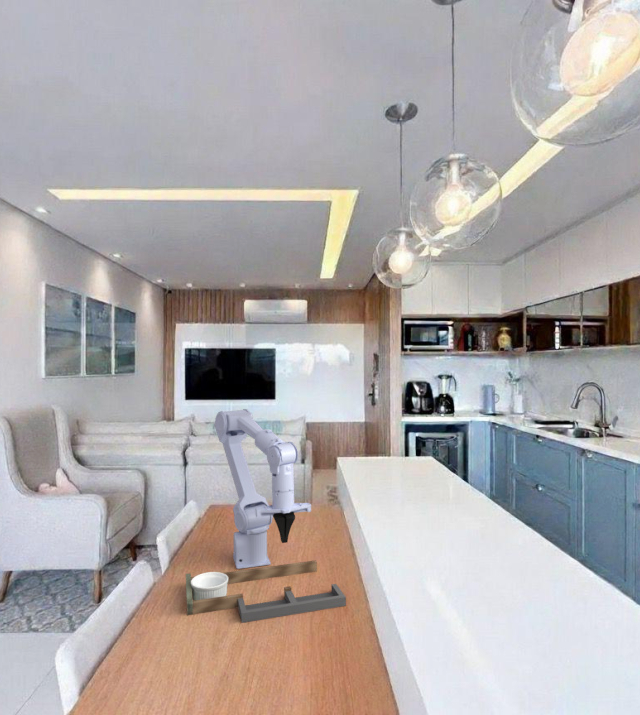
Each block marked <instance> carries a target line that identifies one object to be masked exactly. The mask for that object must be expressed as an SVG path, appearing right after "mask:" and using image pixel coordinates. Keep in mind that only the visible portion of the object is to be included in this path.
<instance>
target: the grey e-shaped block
mask: <svg viewBox="0 0 640 715" xmlns="http://www.w3.org/2000/svg"><path fill="white" fill-rule="evenodd" d="M345 606H347V597H346V595H345V594H344V592H343V591H342V590H341V588H340V587H339V585H338V584H337V583H332V584H331V591H329V592H323V593H316V594H309V595H303V596H298V597H297V596H295V595H294V593H293V591H292V590H291V591H285V598H283V599H279V600H278V599H277V600H272V601H266V602H265V601H264V602H258V603H251V604H245V600H244V597H243V598H239V599H238V607H237V610H238V614H239V617H240V621H241V623H242V624H243V623H249V622H255V621H256V622H257V621H261V620H268V619H274V618H280V617H286V616H291V615H297V614H298V615H299V614H303V613H304V614H305V613H310V612H316V611H321V610H328V609H334V608H340V607H345Z"/></svg>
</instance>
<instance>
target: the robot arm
mask: <svg viewBox="0 0 640 715" xmlns="http://www.w3.org/2000/svg"><path fill="white" fill-rule="evenodd" d="M214 420H215V421H214V428H215V432H216V435H217V438H218V440H219V443H221V444H222V447H223V450H224V453H225V457H226V460H227V463H228V467H229V469H230V473H231V476H232V480H233V483H234V486H235V490H236V493H237V497H238V500H237V502H236V503H235V504H234V506H233V508H232V511H233V517H234V518H233V519H234V520H233V523H234V526H235V528H236V529H237V531H236V532H233V554H232V557H233V561H234V564H235V568H236V569H237V570H239V569H240V570H242V569H246V568H249V569H250V568H257V567H264V566H271V565H272V563H271V560H270V558H269V556H268V533H267V531H268V530H269V529H270V526H271V524H272V522H273V519H274V521H275V524H276V526H277V529H278V532H279V537H280V538H279V539H280V542H281V543H282V544H284V543H288V541H289V536H290V531H291V528H292V526H293V523H294V522H295V520H296V515H295V514H296V513H305V512H306V513H311V512H312V504H311V503H310V502H295V481H294V480H295V478H294V477H295V474H294V473H295V471H294V470H295V469H294V464H295V463H296V462H297V461H298V458H299V451H298V448H297V446H296V445H295V444H294V443H293V442H292V441H284V440H283V439H282V438H281V437H279V436H277V435H276V434H275V433H274V432H273V430H272V429H270V428H269V429H268V428H267V429H266V428H265V429H263V428H262V427H261V426H260V425H259V424H258V423H257V422H256V421H255V420H254V417H253V413H252V412H251V411H250V410H248V409H246V408H243V409H240V410H227V411H222V410H221V411H220V410H219V411H218V412H217V413H216V416H215V419H214ZM248 436H249V437H251V438H252V439H253V440H254V445H255V447H256V448H258V449H259V450H260V451H261V452H262V453H263V454H264V455H265V456H266V460H267V462H268V465H269V472H270V473H271V490H272V491H271V494H272V495H271V497H272V498H271V499H272V500H271V501H272V504H270V505H269V503H268V502H267V501H268V500H267V498H266V497H265V496H263V495H262V494H259V493H258V492H257V491H256V490H257V489H256V486H255V484H254V480H253V477H252V474H251V470H250V468H249V466H248V461H247V458H246V455H245V453H244V449H243V446H242V442H243V441H244V440H245V439H247V437H248Z"/></svg>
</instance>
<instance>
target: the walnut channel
mask: <svg viewBox="0 0 640 715" xmlns="http://www.w3.org/2000/svg"><path fill="white" fill-rule="evenodd" d="M317 566H318V564H317V560H314V559H313V560H309V561H308V560H307V561H301V562H300V561H299V562H294V563H287V564H285V563H284V564H279V565H278V564H277V565H272V566H271V565H269V566H265V567H264V566H261V567H254V568H249V569H240V570H233V571H226V572H223V573H224V574H226V575H227V576H228V583H227V585H229V584H236V583H244V582H250V581H252V582H253V581H258V580H265V579H272V578H273V579H274V578H279V577H280V578H281V577H285V576H293V575H300V574H306V573H314V572H318V567H317ZM194 577H195V576H192V575H191V573H189V572H188V573H185V594H186V596H185V597H186V598H187V599H186V598H185V599H186V616H192V615H198V614H204V613H212V612H216V611H217V612H218V611H223V610H224V611H225V610H230V609H238V599H239V598H243V599H244V595H243V593H237V594H230V595H226V596H222V597H215V598H208V599H202V600H195V601H194V600H193V594H192V586H191V580H192V579H193V578H194ZM285 591H292V587H291V586H289V585H288V586H285V587H283V596H284V598H283V599H285Z"/></svg>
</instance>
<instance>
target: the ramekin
mask: <svg viewBox="0 0 640 715" xmlns="http://www.w3.org/2000/svg"><path fill="white" fill-rule="evenodd" d="M224 573H225V572H220V571H209V572H208V571H207V572H203V573H200V574H197V575H195V576H193V577H194V578H193V579H192V580H191V586H192V600H193V601H195V600H202V599H208V598H215V597H222V596H227V594H228V584H227V583H228V576H227V575H226V574H224Z"/></svg>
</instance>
